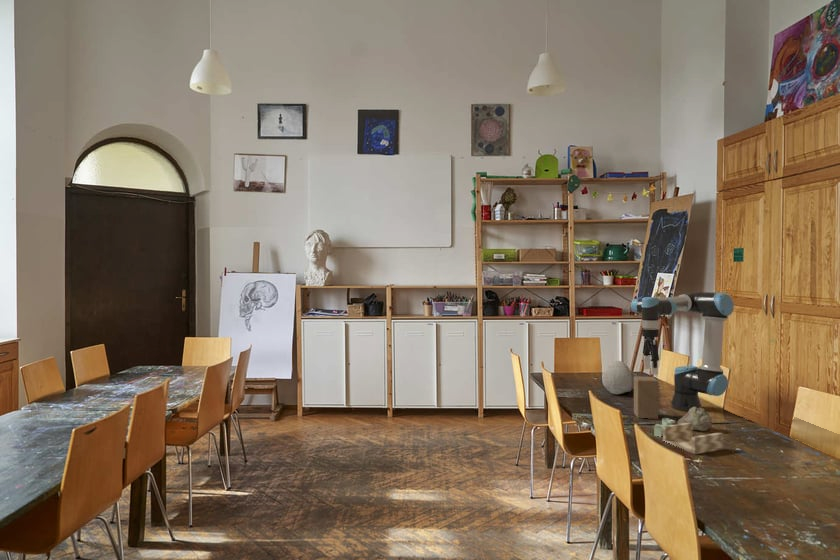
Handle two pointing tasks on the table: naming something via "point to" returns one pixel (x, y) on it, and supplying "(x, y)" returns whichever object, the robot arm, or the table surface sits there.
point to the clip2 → (658, 430)
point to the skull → (617, 378)
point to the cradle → (691, 439)
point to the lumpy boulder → (697, 419)
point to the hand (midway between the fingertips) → (650, 371)
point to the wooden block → (646, 397)
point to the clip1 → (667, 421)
